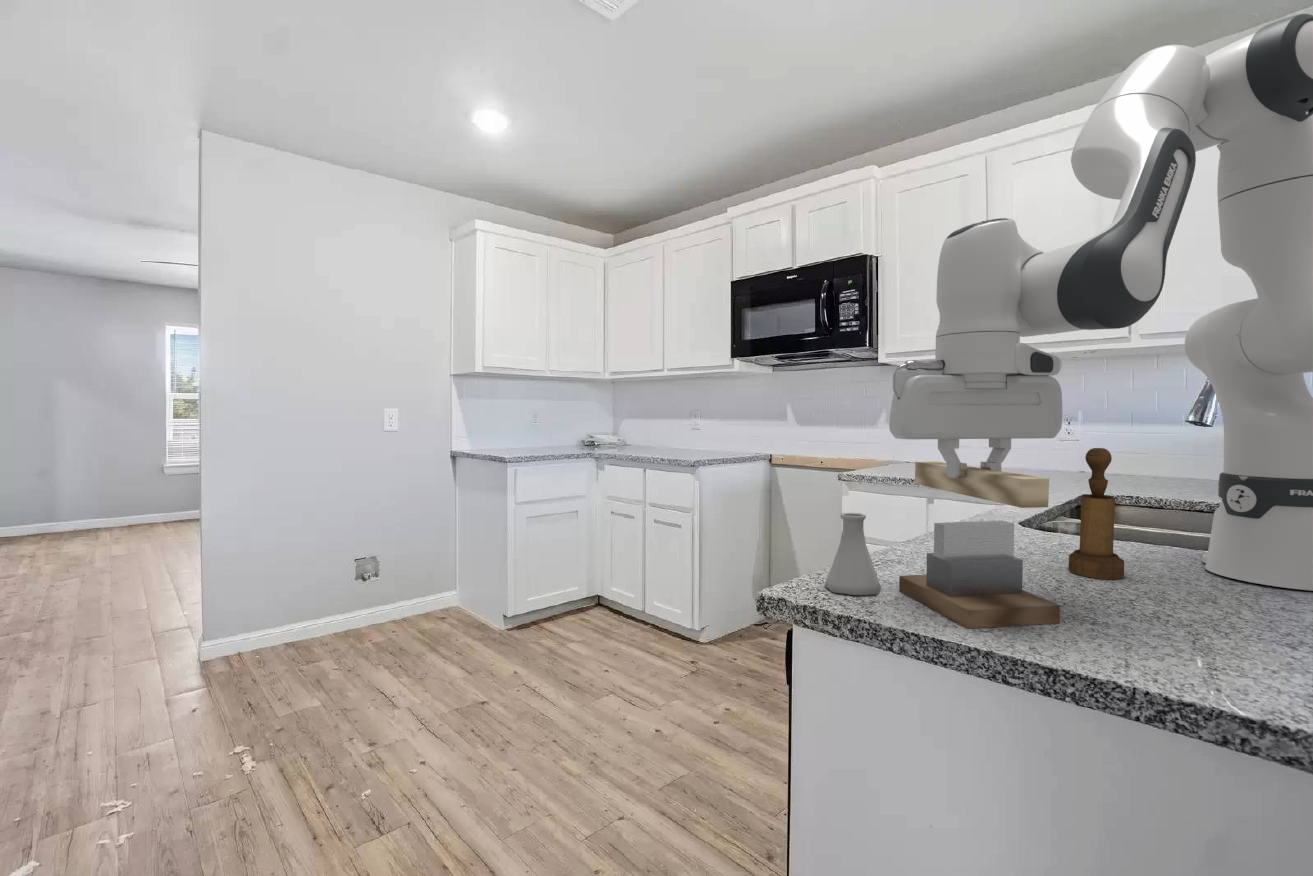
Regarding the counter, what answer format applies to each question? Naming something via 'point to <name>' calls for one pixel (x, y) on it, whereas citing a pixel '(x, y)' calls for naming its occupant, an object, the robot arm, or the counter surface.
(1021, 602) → the walnut base
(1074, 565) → the brown tall knobbed post
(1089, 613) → the counter surface
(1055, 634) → the counter surface
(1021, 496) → the maple bar
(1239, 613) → the counter surface
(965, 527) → the grey stepped block
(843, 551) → the flask
